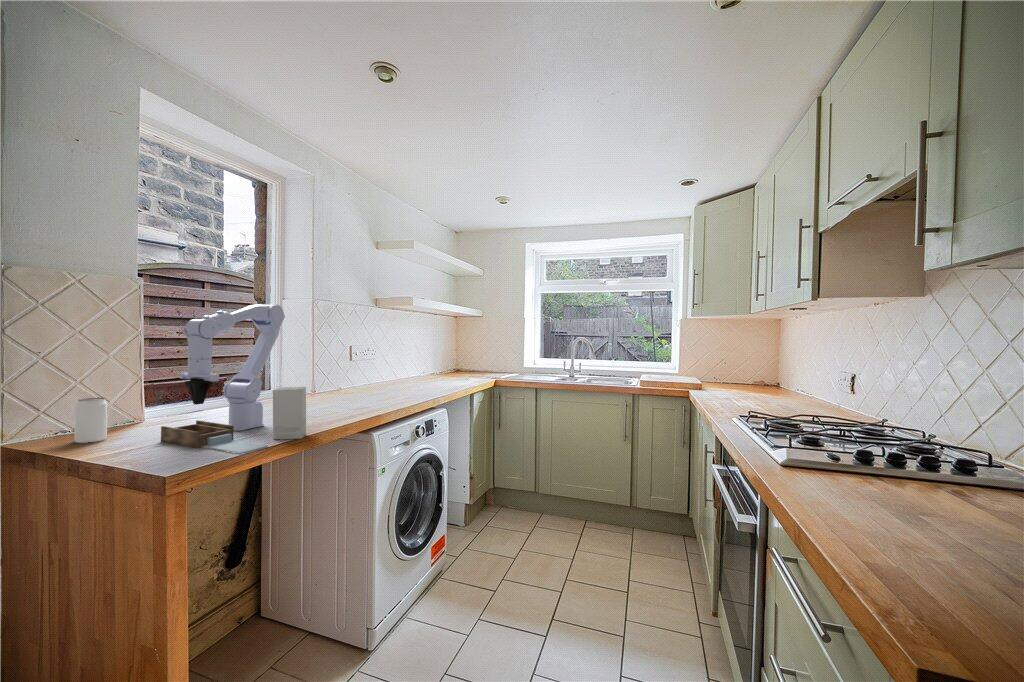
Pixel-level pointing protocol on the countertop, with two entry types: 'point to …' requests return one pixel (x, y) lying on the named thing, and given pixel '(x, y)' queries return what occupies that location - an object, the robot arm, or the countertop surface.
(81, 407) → the can
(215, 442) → the cover plate
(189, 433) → the walnut box
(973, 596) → the countertop surface
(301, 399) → the skincare box
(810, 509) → the countertop surface
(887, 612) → the countertop surface
